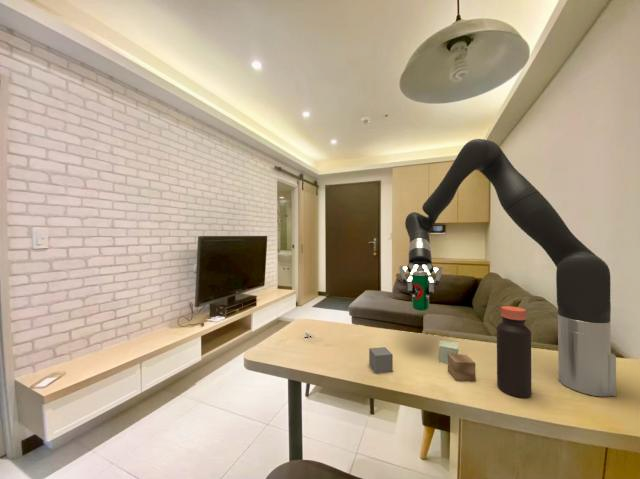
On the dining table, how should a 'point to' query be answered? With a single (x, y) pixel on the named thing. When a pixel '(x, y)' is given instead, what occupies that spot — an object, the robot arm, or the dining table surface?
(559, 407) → the dining table surface
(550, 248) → the robot arm
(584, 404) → the dining table surface
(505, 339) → the bottle
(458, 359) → the walnut block
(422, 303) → the soda can
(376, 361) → the charcoal block
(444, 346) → the sage block
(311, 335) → the power adapter
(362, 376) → the dining table surface
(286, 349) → the dining table surface
